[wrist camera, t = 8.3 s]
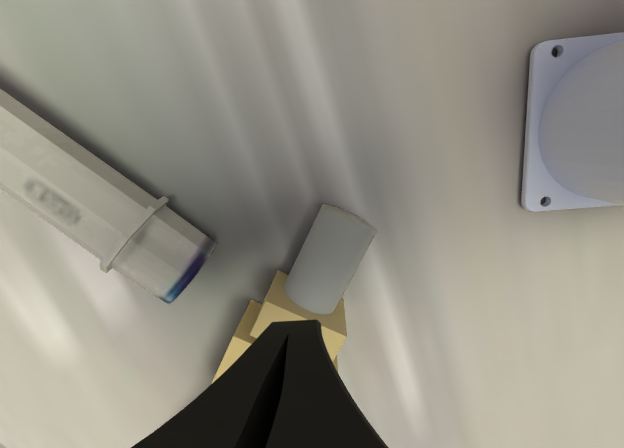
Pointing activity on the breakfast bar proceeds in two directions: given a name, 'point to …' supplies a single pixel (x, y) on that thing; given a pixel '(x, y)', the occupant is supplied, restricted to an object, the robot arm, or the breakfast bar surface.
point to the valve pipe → (310, 284)
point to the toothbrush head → (97, 205)
